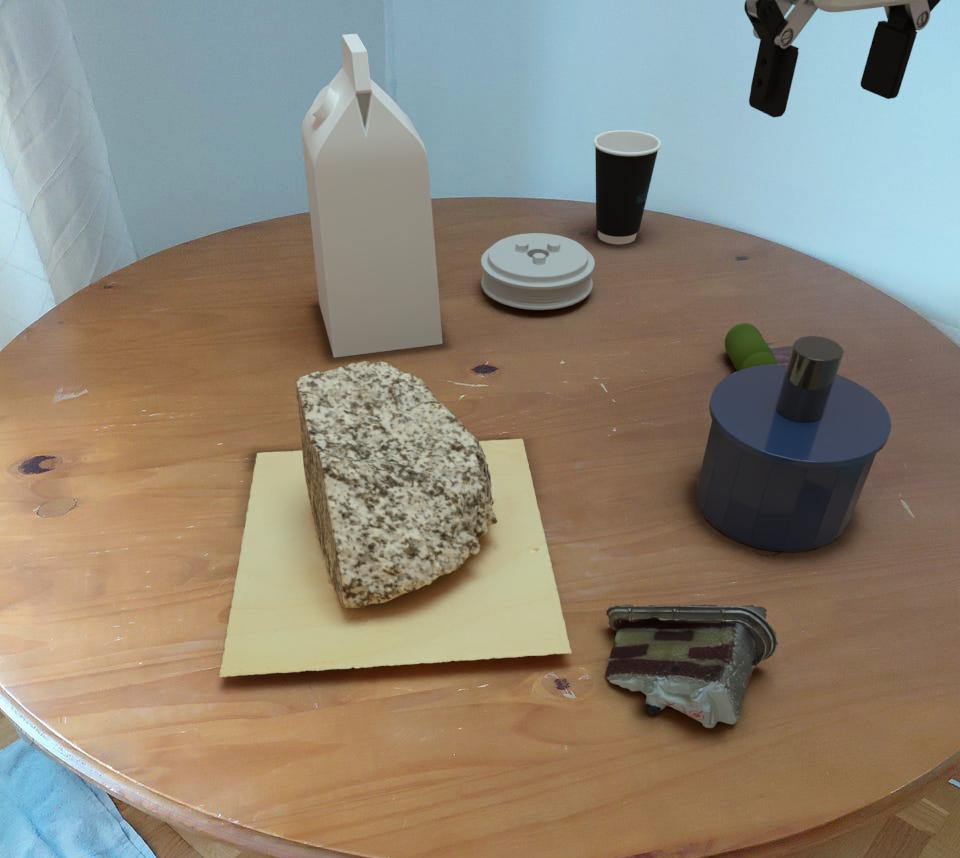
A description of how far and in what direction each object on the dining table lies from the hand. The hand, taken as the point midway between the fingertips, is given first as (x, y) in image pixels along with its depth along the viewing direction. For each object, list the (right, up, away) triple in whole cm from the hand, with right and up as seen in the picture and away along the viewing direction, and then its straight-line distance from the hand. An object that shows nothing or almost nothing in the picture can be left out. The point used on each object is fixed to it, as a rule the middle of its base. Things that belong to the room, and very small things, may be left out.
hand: (822, 102), depth 62 cm
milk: (-35, -3, +35) cm, 49 cm away
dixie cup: (-7, +13, +50) cm, 52 cm away
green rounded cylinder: (+3, -10, +28) cm, 30 cm away
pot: (+1, -26, +14) cm, 29 cm away
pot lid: (+1, -20, +7) cm, 21 cm away
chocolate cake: (-10, -41, 0) cm, 42 cm away
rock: (-31, -30, +10) cm, 44 cm away
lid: (-17, +2, +40) cm, 44 cm away
